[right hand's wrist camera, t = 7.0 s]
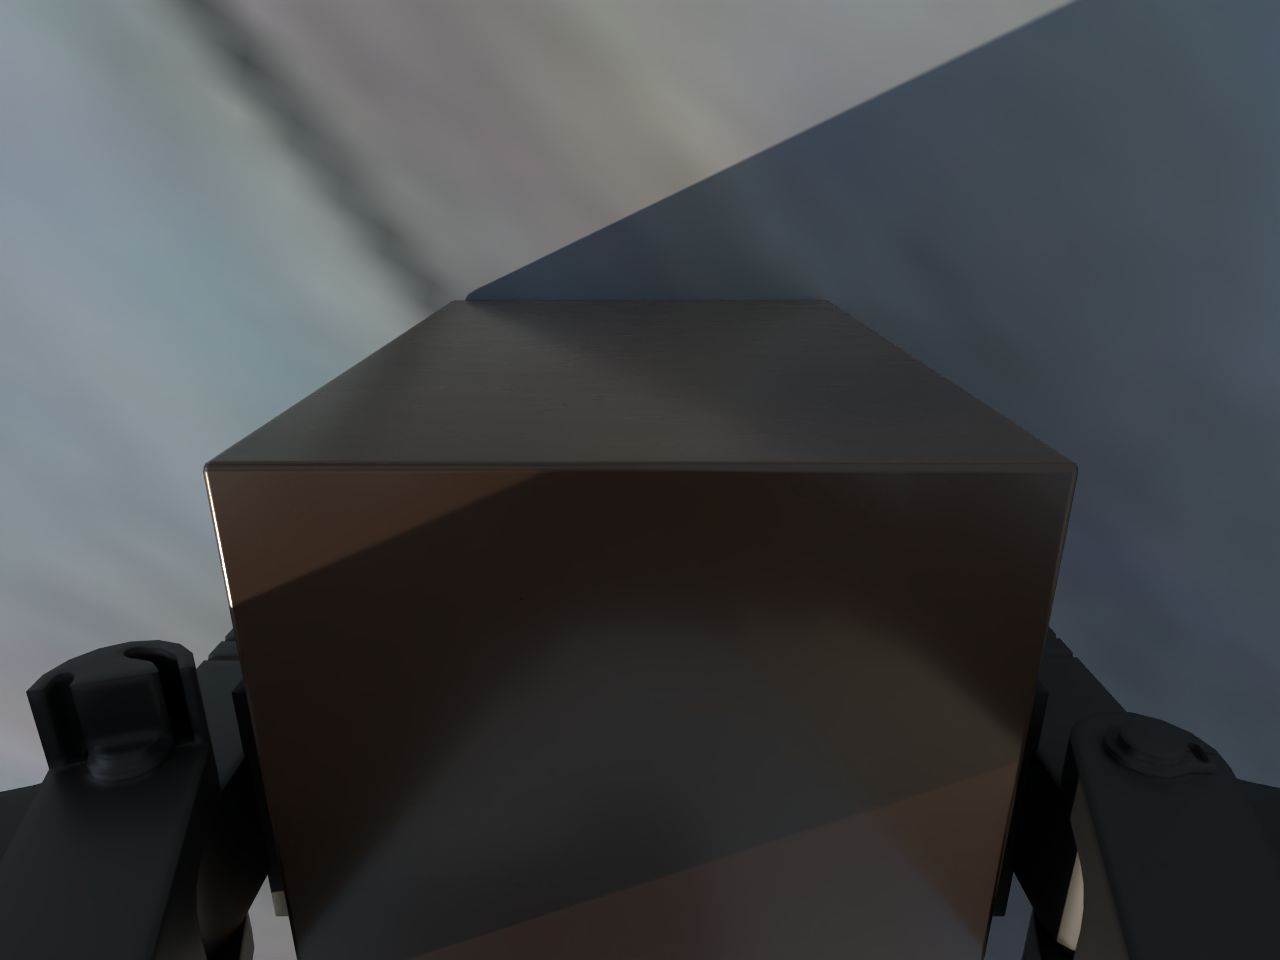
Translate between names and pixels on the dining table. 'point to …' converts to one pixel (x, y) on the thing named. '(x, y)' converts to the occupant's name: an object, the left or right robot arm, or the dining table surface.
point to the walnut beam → (640, 637)
